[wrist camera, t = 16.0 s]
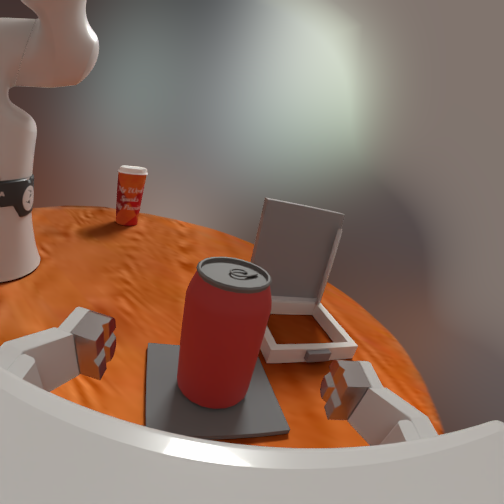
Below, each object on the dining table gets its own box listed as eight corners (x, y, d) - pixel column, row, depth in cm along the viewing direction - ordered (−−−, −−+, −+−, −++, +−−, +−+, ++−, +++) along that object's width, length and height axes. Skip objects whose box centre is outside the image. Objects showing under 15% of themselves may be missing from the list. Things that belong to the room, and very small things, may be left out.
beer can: (258, 405, 24) (295, 290, 20) (187, 417, 21) (205, 293, 17) (230, 361, 29) (254, 255, 26) (169, 366, 26) (181, 252, 23)
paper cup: (111, 226, 64) (117, 167, 60) (112, 217, 70) (118, 164, 66) (142, 228, 67) (150, 170, 63) (140, 219, 74) (148, 167, 70)
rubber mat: (146, 437, 18) (145, 433, 18) (148, 347, 29) (148, 342, 29) (288, 433, 22) (290, 429, 22) (253, 352, 33) (254, 348, 33)
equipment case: (268, 367, 31) (310, 227, 26) (240, 304, 43) (265, 197, 38) (355, 361, 34) (402, 244, 29) (311, 308, 47) (340, 212, 42)
